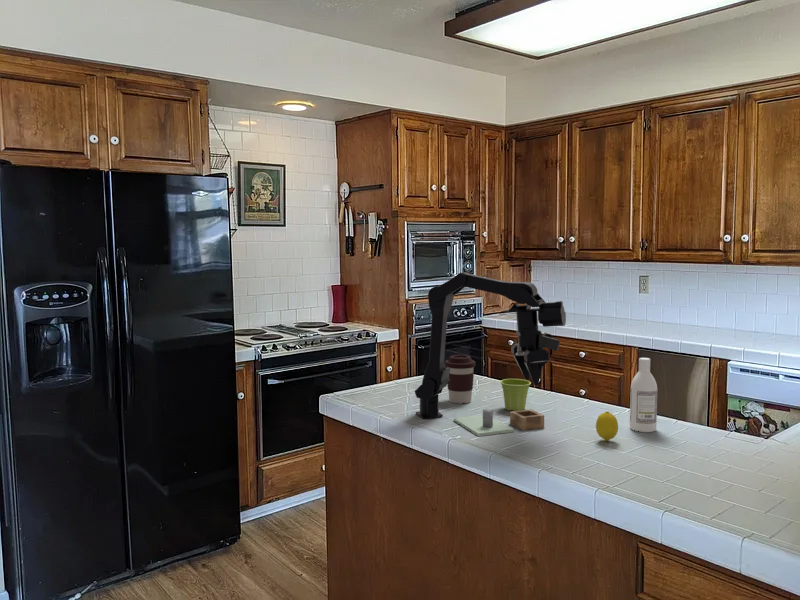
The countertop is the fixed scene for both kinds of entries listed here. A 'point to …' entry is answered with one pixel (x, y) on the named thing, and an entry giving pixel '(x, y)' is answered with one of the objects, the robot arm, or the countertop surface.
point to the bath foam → (643, 399)
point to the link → (527, 419)
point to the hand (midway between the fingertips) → (531, 382)
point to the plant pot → (515, 393)
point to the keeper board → (478, 425)
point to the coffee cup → (460, 378)
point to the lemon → (607, 426)
